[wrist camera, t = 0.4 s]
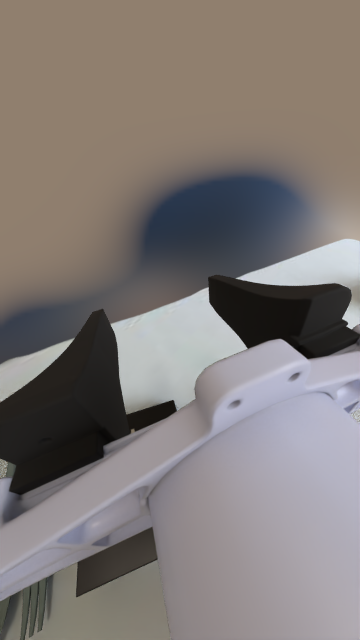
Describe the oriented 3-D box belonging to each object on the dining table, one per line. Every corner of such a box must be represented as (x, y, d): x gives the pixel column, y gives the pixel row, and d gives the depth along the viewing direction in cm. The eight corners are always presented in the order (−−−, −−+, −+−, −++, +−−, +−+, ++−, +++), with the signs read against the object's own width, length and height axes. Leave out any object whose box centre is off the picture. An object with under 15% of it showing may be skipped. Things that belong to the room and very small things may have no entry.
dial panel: (207, 530, 18) (210, 534, 16) (90, 585, 16) (74, 598, 14) (174, 407, 26) (173, 399, 24) (93, 434, 24) (84, 427, 22)
